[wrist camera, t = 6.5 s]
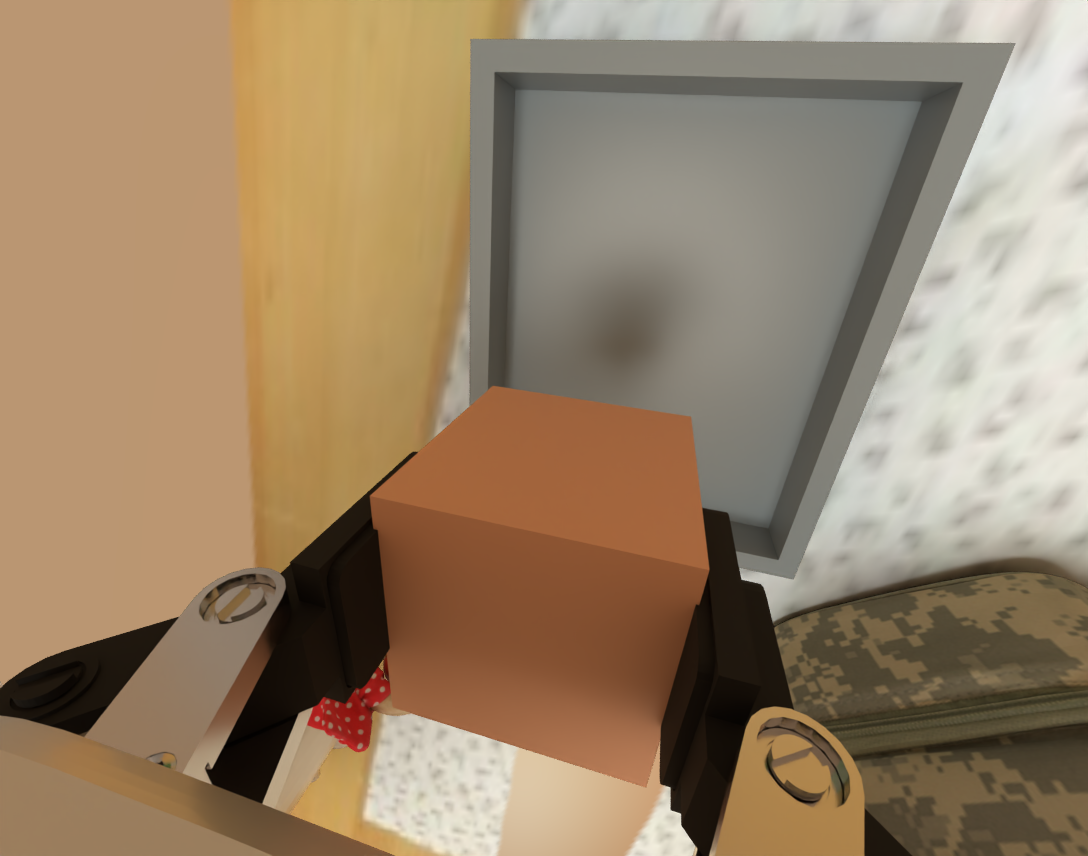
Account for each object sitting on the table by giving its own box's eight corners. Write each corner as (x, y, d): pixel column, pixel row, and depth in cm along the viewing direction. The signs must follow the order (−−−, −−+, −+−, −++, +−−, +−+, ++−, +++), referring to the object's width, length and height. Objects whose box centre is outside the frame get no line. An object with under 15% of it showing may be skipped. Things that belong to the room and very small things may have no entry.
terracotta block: (654, 577, 14) (645, 787, 9) (489, 539, 15) (392, 707, 10) (691, 416, 12) (709, 569, 7) (492, 385, 13) (369, 496, 8)
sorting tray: (779, 537, 27) (793, 579, 23) (490, 479, 30) (469, 508, 27) (953, 75, 17) (1015, 43, 14) (500, 66, 20) (470, 39, 17)
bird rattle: (464, 580, 37) (349, 562, 35) (461, 727, 28) (305, 720, 25) (442, 623, 40) (335, 610, 38) (434, 770, 31) (291, 767, 28)
